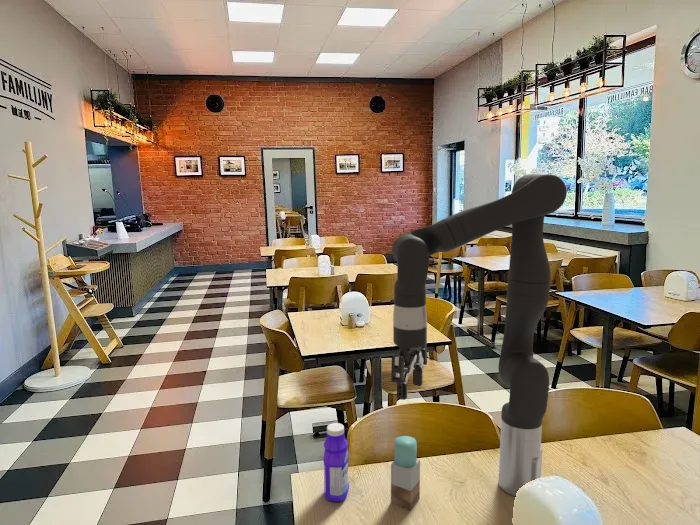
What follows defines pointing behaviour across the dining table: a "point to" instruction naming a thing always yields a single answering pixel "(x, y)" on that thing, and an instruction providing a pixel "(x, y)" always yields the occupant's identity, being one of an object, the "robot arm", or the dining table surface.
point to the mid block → (405, 475)
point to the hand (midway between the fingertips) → (410, 391)
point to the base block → (405, 496)
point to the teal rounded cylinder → (405, 451)
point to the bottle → (336, 463)
